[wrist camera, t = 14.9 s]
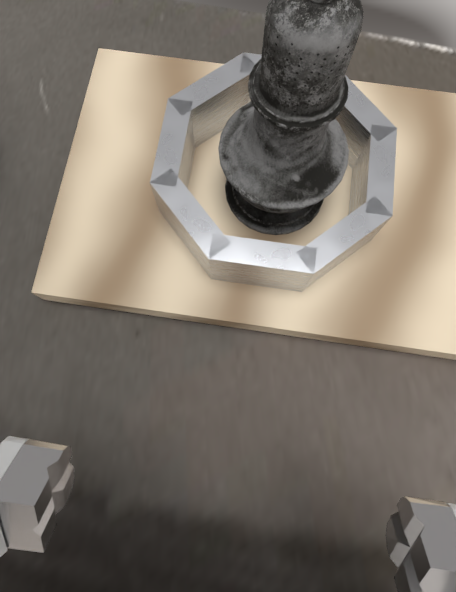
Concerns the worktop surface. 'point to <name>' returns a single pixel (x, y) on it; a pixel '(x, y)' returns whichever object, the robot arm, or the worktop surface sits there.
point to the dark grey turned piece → (292, 116)
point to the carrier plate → (212, 197)
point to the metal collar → (258, 253)
